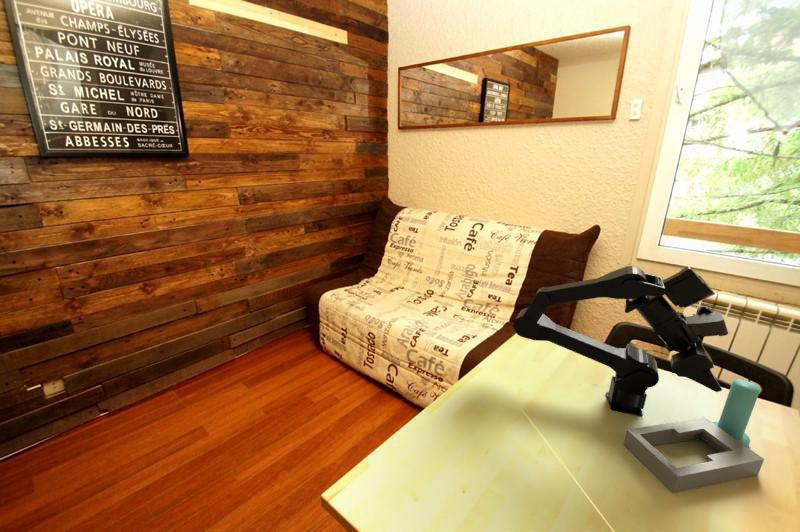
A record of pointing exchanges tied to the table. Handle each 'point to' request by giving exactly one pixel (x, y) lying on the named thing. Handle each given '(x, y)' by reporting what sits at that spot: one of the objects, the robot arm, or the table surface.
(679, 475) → the keyhole plate
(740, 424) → the peg
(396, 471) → the table surface
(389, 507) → the table surface
